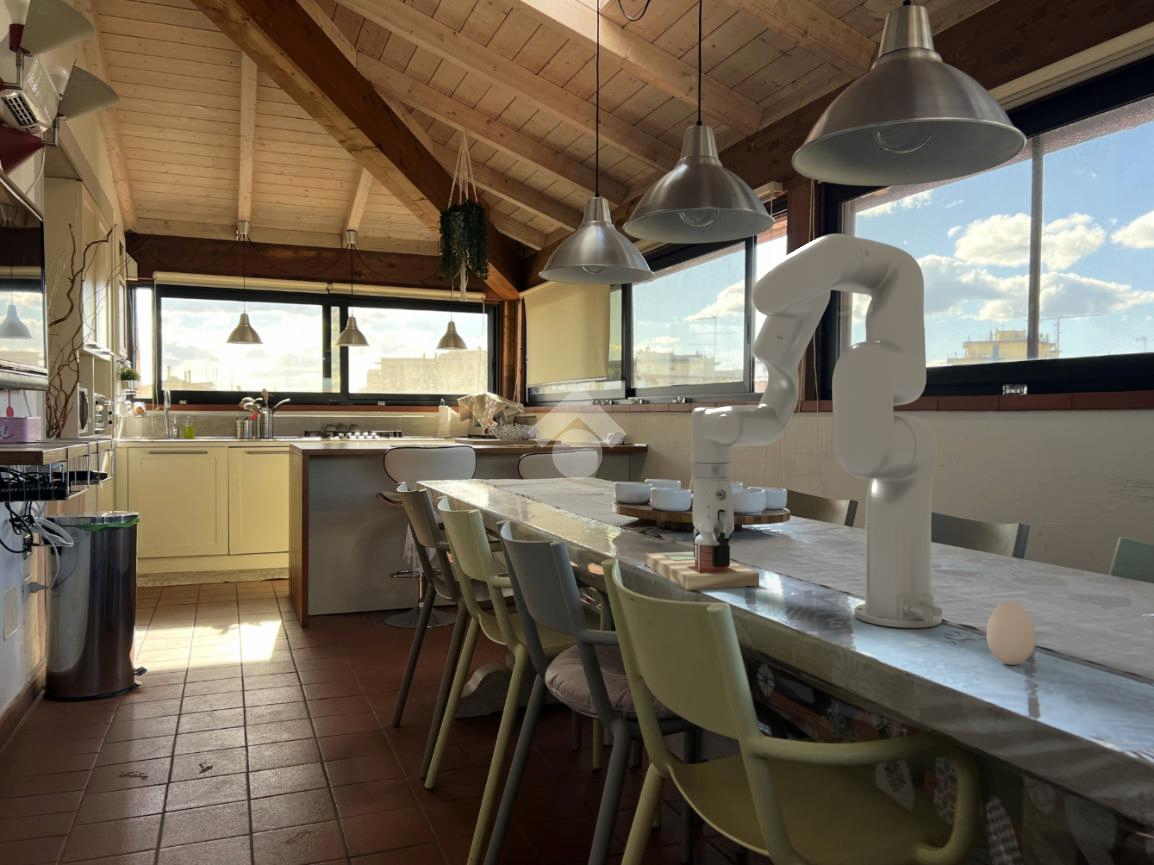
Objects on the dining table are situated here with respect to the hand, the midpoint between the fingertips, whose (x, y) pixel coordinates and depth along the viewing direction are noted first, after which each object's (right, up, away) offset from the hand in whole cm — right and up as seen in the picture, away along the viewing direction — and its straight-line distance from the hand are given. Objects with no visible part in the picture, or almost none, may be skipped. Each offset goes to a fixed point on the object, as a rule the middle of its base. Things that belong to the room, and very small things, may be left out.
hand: (711, 562), depth 158 cm
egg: (+29, -5, -53) cm, 61 cm away
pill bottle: (0, -4, 0) cm, 4 cm away
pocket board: (-2, -4, +7) cm, 8 cm away
